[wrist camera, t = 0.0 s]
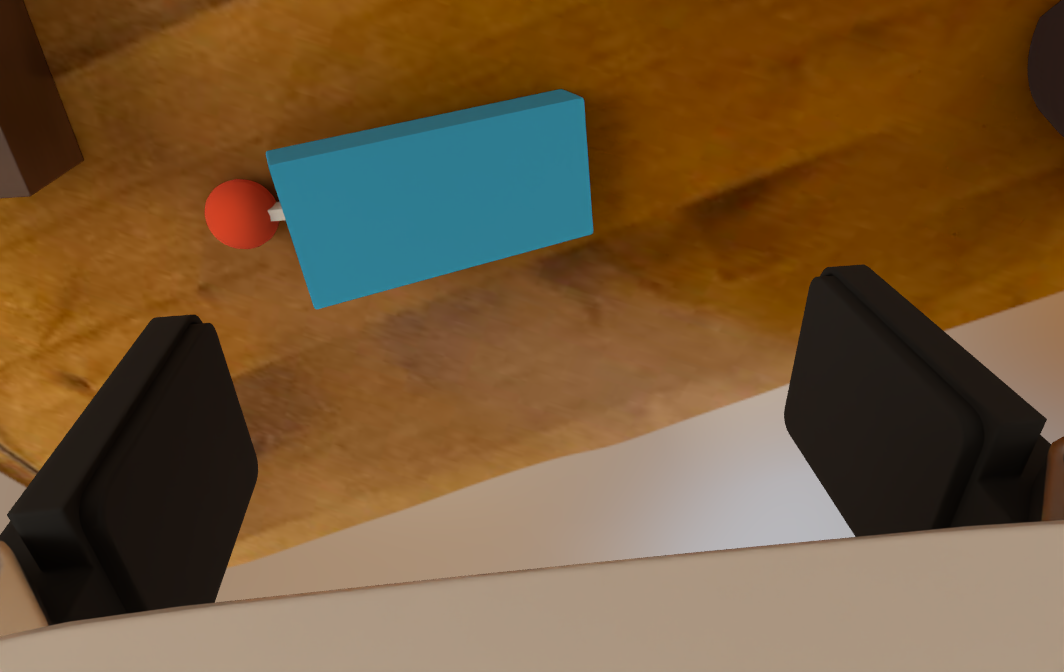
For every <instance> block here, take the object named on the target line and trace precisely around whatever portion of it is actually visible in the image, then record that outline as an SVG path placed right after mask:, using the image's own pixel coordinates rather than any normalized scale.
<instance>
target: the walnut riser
mask: <svg viewBox="0 0 1064 672" xmlns="http://www.w3.org/2000/svg"><path fill="white" fill-rule="evenodd" d="M82 161H83V157H82V154H81V152H80V149H79V147H78V144H77V141H76V139H75V136H74V134H73V131H72V128H71V126H70V123H69V120H68V118H67V115H66V113H65V110H64V107H63V105H62V102H61V100H60V97H59V94H58V92H57V89H56V86H55V84H54V81H53V79H52V76H51V73H50V71H49V68H48V66H47V63H46V60H45V58H44V55H43V52H42V50H41V47H40V45H39V42H38V39H37V37H36V34H35V31H34V29H33V26H32V24H31V21H30V18H29V16H28V13H27V11H26V8H25V5H24V3H23V0H0V198H12V197H28V196H32V195H33V194H35V193H36V192H38V191H39V190H41V189H42V188H44V187H45V186H46V185H48V184H49V183H51V182H52V181H54V180H55V179H57V178H58V177H60V176H61V175H63V174H64V173H66V172H67V171H69V170H70V169H72V168H73V167H75V166H76V165H78V164H79V163H81V162H82Z"/></svg>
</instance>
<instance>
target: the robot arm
mask: <svg viewBox="0 0 1064 672" xmlns="http://www.w3.org/2000/svg"><path fill="white" fill-rule="evenodd" d="M784 419H785V425H786V428H787V430H788V432H789V434H790V436H791V437H792V439H793V440H794V442H795V444H796V445H797V447H798V448H799V450H800V451H801V453H802V454H803V455H804V457H805V459H806V461H807V462H808V463H809V465H810V467H811V468H812V470H813V471H814V473H815V474H816V476H817V478H818V479H819V481H820V482H821V484H822V485H823V487H824V488H825V490H826V491H827V493H828V495H829V496H830V498H831V499H832V501H833V502H834V504H835V505H836V507H837V508H838V510H839V512H840V513H841V515H842V516H843V518H844V519H845V521H846V523H847V524H848V526H849V527H850V529H851V530H852V532H853V533H854V535H855V537H851V538H840V539H830V540H821V541H820V540H819V541H809V542H799V543H789V544H779V545H767V546H757V547H748V548H747V547H746V548H737V549H726V550H715V551H705V552H696V553H685V554H675V555H665V556H655V557H645V558H635V559H625V560H615V561H605V562H595V563H585V564H576V565H566V566H558V567H547V568H537V569H527V570H517V571H507V572H498V573H488V574H478V575H469V576H459V577H450V578H441V579H432V580H422V581H413V582H403V583H394V584H385V585H375V586H366V587H357V588H348V589H338V590H329V591H320V592H310V593H301V594H292V595H283V596H273V597H263V598H254V599H245V600H235V601H227V602H217V603H215V600H216V597H217V594H218V591H219V588H220V585H221V582H222V579H223V576H224V574H225V571H226V568H227V565H228V562H229V559H230V556H231V553H232V550H233V548H234V545H235V542H236V539H237V536H238V533H239V530H240V527H241V524H242V522H243V519H244V516H245V513H246V510H247V507H248V504H249V501H250V498H251V495H252V493H253V490H254V487H255V484H256V481H257V476H258V462H257V457H256V454H255V450H254V447H253V444H252V441H251V438H250V435H249V432H248V429H247V426H246V423H245V419H244V416H243V413H242V410H241V407H240V404H239V401H238V398H237V395H236V391H235V388H234V385H233V382H232V379H231V376H230V373H229V370H228V367H227V364H226V360H225V357H224V354H223V351H222V348H221V345H220V342H219V339H218V336H217V333H216V330H215V328H214V326H213V325H212V324H210V323H202V321H201V320H200V318H199V317H198V316H196V315H183V316H169V317H157V318H153V319H152V320H151V321H150V322H149V324H148V325H147V326H146V328H145V329H144V330H143V332H142V333H141V334H140V336H139V337H138V338H137V340H136V341H135V343H134V344H133V345H132V347H131V348H130V349H129V351H128V352H127V353H126V355H125V356H124V357H123V359H122V360H121V361H120V363H119V364H118V365H117V367H116V368H115V370H114V371H113V372H112V374H111V375H110V376H109V378H108V379H107V380H106V382H105V383H104V384H103V386H102V387H101V388H100V390H99V391H98V392H97V394H96V395H95V397H94V398H93V399H92V401H91V402H90V403H89V405H88V406H87V407H86V409H85V410H84V411H83V413H82V414H81V415H80V417H79V418H78V419H77V421H76V422H75V424H74V425H73V426H72V428H71V429H70V430H69V432H68V433H67V434H66V436H65V437H64V438H63V440H62V441H61V442H60V444H59V445H58V446H57V448H56V449H55V451H54V452H53V453H52V455H51V456H50V457H49V459H48V460H47V461H46V463H45V464H44V465H43V467H42V468H41V469H40V471H39V472H38V473H37V475H36V476H35V478H34V479H33V480H32V482H31V483H30V484H29V486H28V487H27V488H26V490H25V491H24V492H23V494H22V495H21V497H20V498H19V499H18V500H17V502H16V503H15V505H14V506H13V507H12V509H11V510H10V511H9V513H8V514H7V516H8V517H9V519H10V522H9V524H8V525H7V526H6V528H5V529H4V531H3V532H2V533H1V535H0V672H1064V437H1062V438H1060V439H1058V440H1057V441H1055V442H1053V443H1052V444H1050V443H1049V442H1048V441H1047V440H1045V439H1044V438H1043V437H1042V436H1041V435H1040V433H1041V431H1042V429H1043V427H1044V424H1045V422H1046V420H1047V419H1046V418H1045V417H1044V416H1042V415H1041V414H1040V413H1039V412H1038V411H1036V410H1035V409H1034V408H1033V407H1032V406H1031V405H1030V404H1028V403H1027V402H1026V401H1025V400H1024V399H1023V398H1021V397H1020V396H1019V395H1018V394H1017V393H1015V392H1014V391H1013V390H1012V389H1011V388H1010V387H1008V386H1007V385H1006V384H1005V383H1004V382H1003V381H1001V380H1000V379H999V378H998V377H997V376H995V375H994V374H993V373H992V372H991V371H990V370H989V369H987V368H986V367H985V366H984V365H983V364H981V363H980V362H979V361H978V360H977V359H976V358H974V357H973V356H972V355H971V354H970V353H969V352H967V351H966V350H965V349H964V348H963V347H962V346H960V345H959V344H958V343H957V342H956V341H954V340H953V339H952V338H951V337H950V336H949V335H947V334H946V333H945V332H944V331H943V330H942V329H940V328H939V327H938V326H937V325H936V324H935V323H933V322H932V321H931V320H930V319H929V318H928V317H926V316H925V315H924V314H923V313H922V312H921V311H919V310H918V309H917V308H916V307H915V306H914V305H912V304H911V303H910V302H909V301H908V300H907V299H905V298H904V297H903V296H902V295H901V294H899V293H898V292H897V291H896V290H895V289H894V288H892V287H891V286H890V285H889V284H888V283H887V282H885V281H884V280H883V279H882V278H881V277H880V276H878V275H877V274H876V273H875V272H874V271H873V270H871V269H870V268H869V267H867V266H866V265H851V266H838V267H827V268H826V269H824V270H823V272H822V274H821V275H820V277H815V278H814V279H813V280H812V282H811V284H810V287H809V292H808V297H807V302H806V307H805V311H804V316H803V321H802V326H801V331H800V336H799V341H798V346H797V351H796V356H795V361H794V366H793V371H792V375H791V380H790V385H789V390H788V396H787V400H786V405H785V411H784Z"/></svg>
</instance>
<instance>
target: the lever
mask: <svg viewBox="0 0 1064 672" xmlns="http://www.w3.org/2000/svg"><path fill="white" fill-rule="evenodd" d="M266 157H267V162H268V167H269V170H270V173H271V176H272V179H273V183H274V186H275V189H276V192H277V195H278V198H279V201H280V202H276V201H275V199H274V197H273V195H272V194H271V193H270V192H269V191H268V190H267V189H266V188H265V187H263V186H262V185H260V184H259V183H257V182H254V181H250V180H245V179H234V180H230V181H226V182H224V183H222V184H220V185H218V186H217V187H216V188H214V190H213V191H212V192H211V194H210V195H209V196H208V198H207V201H206V204H205V218H206V223H207V225H208V227H209V229H210V231H211V232H212V234H213V235H214V236H215V237H216V238H217V239H218V240H219V241H221V242H222V243H224V244H226V245H228V246H230V247H233V248H239V249H251V248H255V247H259V246H261V245H262V244H264V243H265V242H267V241H268V240H270V239H271V238H272V237H273V235H274V234H275V232H276V230H277V228H278V225H279V221H281V220H286V223H287V226H288V229H289V232H290V235H291V238H292V241H293V244H294V247H295V250H296V253H297V256H298V259H299V263H300V266H301V269H302V272H303V275H304V278H305V281H306V284H307V287H308V290H309V293H310V296H311V300H312V303H313V306H314V308H315V309H320V308H324V307H327V306H331V305H335V304H338V303H342V302H346V301H349V300H353V299H357V298H360V297H364V296H368V295H371V294H375V293H379V292H382V291H386V290H389V289H393V288H397V287H400V286H404V285H408V284H411V283H415V282H419V281H422V280H426V279H430V278H433V277H437V276H441V275H444V274H448V273H452V272H455V271H459V270H463V269H466V268H470V267H474V266H477V265H481V264H484V263H488V262H492V261H495V260H499V259H503V258H506V257H510V256H514V255H517V254H521V253H525V252H528V251H532V250H536V249H539V248H543V247H547V246H550V245H554V244H558V243H561V242H565V241H569V240H572V239H576V238H580V237H583V236H587V235H590V234H592V233H593V221H592V207H591V193H590V179H589V164H588V150H587V136H586V122H585V108H584V99H583V98H582V97H580V96H577V95H575V94H573V93H570V92H568V91H566V90H563V89H559V90H554V91H549V92H544V93H540V94H535V95H530V96H525V97H521V98H516V99H511V100H506V101H502V102H497V103H492V104H487V105H483V106H478V107H473V108H468V109H464V110H459V111H454V112H450V113H445V114H440V115H435V116H431V117H426V118H421V119H416V120H412V121H407V122H402V123H397V124H393V125H388V126H383V127H378V128H374V129H369V130H364V131H359V132H355V133H350V134H345V135H341V136H336V137H331V138H326V139H322V140H317V141H312V142H307V143H303V144H298V145H293V146H288V147H284V148H279V149H274V150H269V151H267V152H266Z"/></svg>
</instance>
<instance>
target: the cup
mask: <svg viewBox="0 0 1064 672" xmlns="http://www.w3.org/2000/svg"><path fill="white" fill-rule="evenodd" d="M1028 81H1029V87H1030V91H1031V94H1032V97H1033V99H1034V102H1035V103H1036V105H1037V107H1038V109H1039V110H1040V111H1041V113H1042V114H1043V115H1044V116H1045V117H1046V119H1047V120H1048V121H1049V122H1050V123H1051V124H1052V126H1053V127H1054V128H1055V129H1056V130H1057V131H1058V132H1059V133H1060V134H1061V135H1062V136H1063V137H1064V0H1062V1H1060V2H1059V3H1058V4H1056V5H1055V6H1054V7H1052V8H1051V9H1050V10H1049V11H1047V12H1046V13H1045V14H1044V15H1043V16H1041V17H1040V19H1039V21H1038V23H1037V26H1036V29H1035V32H1034V34H1033V38H1032V41H1031V46H1030V51H1029V58H1028Z"/></svg>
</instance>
